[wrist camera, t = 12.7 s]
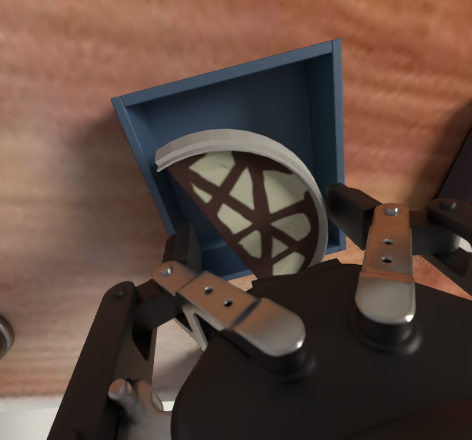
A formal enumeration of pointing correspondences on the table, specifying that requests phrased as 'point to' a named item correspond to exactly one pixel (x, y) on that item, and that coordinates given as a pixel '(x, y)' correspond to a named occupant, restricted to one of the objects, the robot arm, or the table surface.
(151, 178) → the tote
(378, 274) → the robot arm
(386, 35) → the table surface
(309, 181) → the food container
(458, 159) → the calculator
